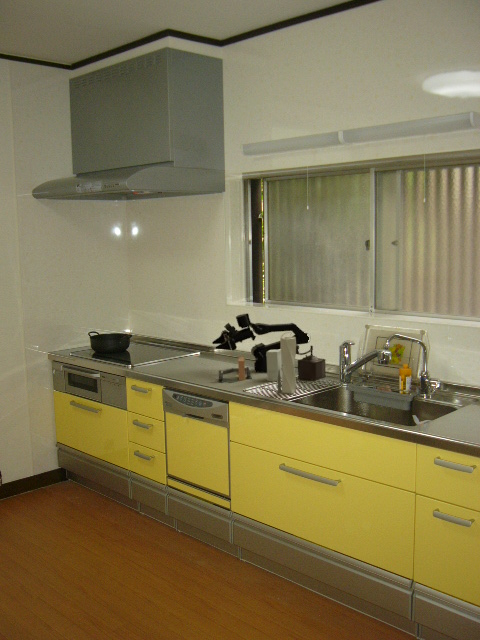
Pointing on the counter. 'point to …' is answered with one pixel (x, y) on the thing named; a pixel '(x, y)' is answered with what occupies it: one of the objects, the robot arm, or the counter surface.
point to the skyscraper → (287, 365)
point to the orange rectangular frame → (241, 369)
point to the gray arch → (222, 372)
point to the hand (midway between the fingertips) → (214, 345)
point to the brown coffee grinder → (310, 366)
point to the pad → (228, 380)
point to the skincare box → (273, 364)
